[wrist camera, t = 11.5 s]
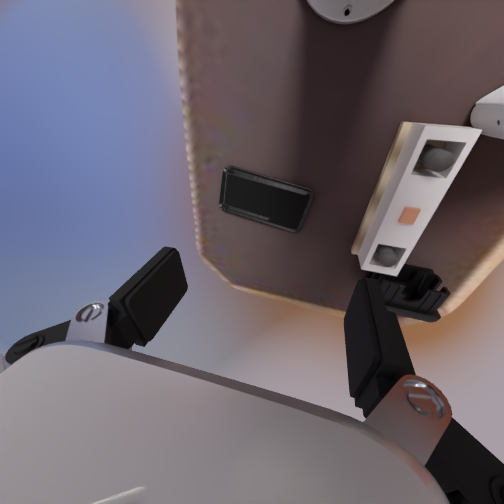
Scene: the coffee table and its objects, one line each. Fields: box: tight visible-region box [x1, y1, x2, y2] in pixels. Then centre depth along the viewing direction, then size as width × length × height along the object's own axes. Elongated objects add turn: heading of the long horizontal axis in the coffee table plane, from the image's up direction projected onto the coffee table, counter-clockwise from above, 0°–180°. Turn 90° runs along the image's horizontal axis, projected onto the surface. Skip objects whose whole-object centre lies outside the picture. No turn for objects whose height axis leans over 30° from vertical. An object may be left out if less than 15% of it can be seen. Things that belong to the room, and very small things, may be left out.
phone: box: [219, 166, 314, 233], centre depth 36 cm, size 8×1×15 cm
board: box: [351, 122, 473, 267], centre depth 29 cm, size 19×7×6 cm, turn 176°
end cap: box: [366, 264, 450, 322], centre depth 35 cm, size 10×7×7 cm
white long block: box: [358, 123, 482, 276], centre depth 28 cm, size 19×5×4 cm, turn 177°
